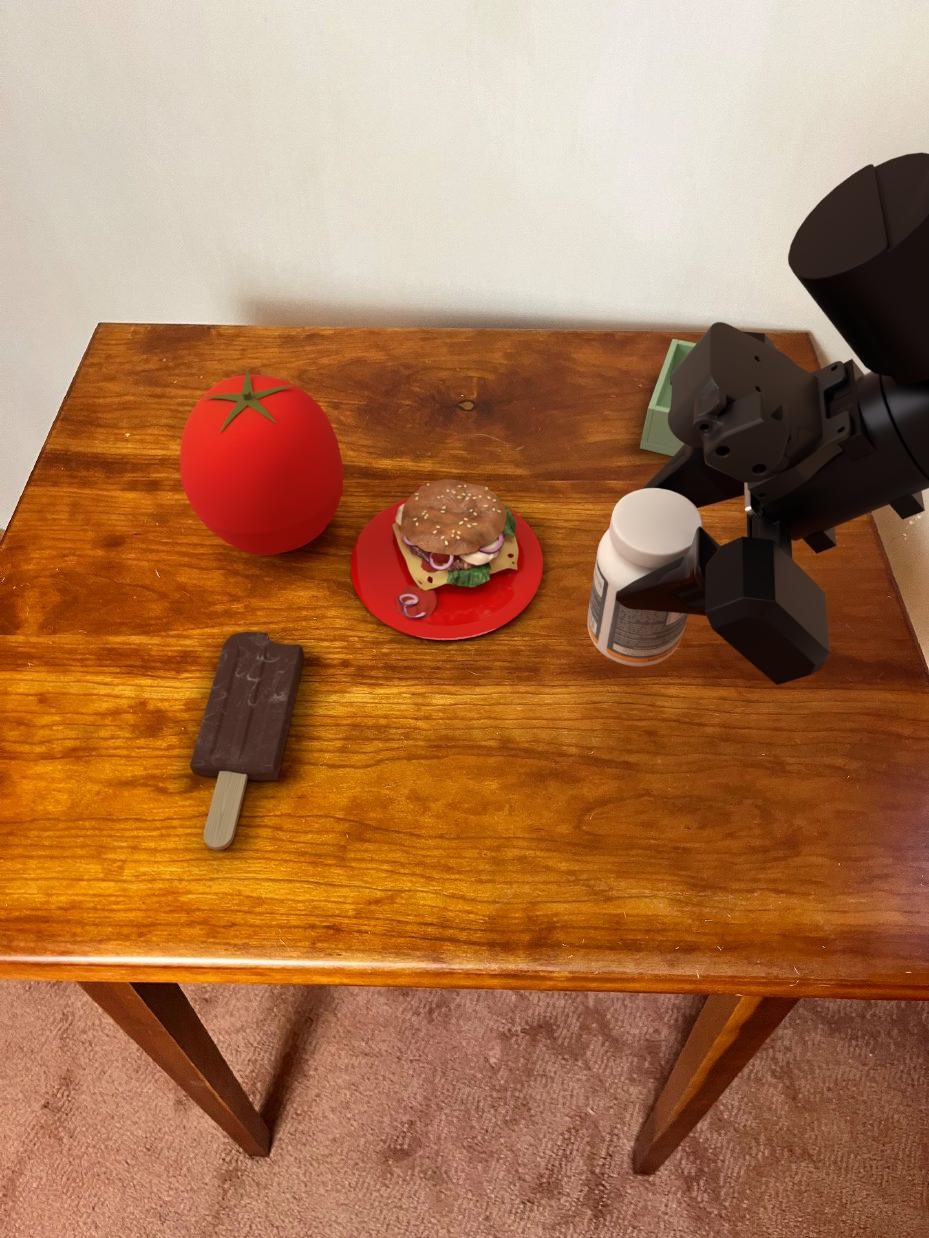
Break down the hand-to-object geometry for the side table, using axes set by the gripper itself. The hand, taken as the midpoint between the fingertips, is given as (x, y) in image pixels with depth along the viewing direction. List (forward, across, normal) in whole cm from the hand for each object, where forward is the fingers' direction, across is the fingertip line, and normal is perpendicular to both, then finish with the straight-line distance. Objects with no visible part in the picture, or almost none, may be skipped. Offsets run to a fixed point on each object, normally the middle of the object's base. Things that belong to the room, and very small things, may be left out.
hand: (623, 557), depth 50 cm
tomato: (+27, -10, -8) cm, 30 cm away
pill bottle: (+4, 0, +6) cm, 7 cm away
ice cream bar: (+25, +8, -6) cm, 27 cm away
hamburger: (+18, -9, +1) cm, 20 cm away
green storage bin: (+5, -27, +14) cm, 31 cm away
